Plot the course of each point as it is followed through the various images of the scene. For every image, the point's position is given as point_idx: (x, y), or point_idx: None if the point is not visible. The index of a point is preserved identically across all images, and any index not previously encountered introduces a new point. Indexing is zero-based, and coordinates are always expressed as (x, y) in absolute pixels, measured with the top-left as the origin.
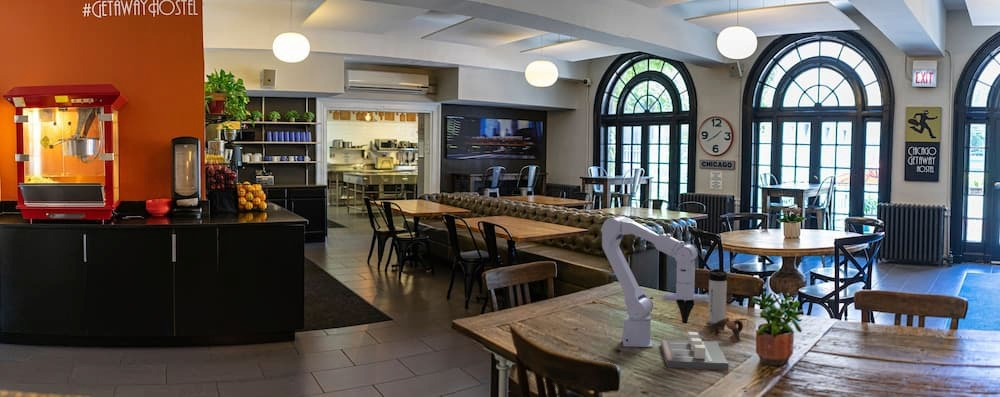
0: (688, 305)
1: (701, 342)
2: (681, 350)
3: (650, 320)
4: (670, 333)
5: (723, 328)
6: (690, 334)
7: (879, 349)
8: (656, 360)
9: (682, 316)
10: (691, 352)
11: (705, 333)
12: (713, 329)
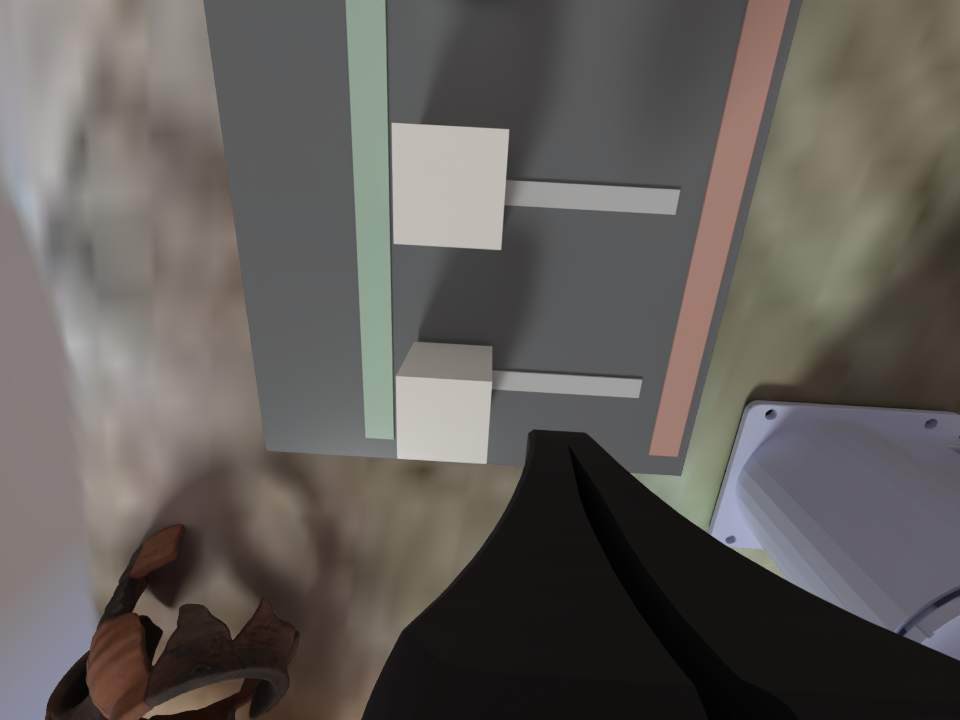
0: (604, 654)
1: (399, 125)
2: (594, 184)
3: (888, 615)
4: None
5: (180, 617)
6: (480, 381)
7: None
8: (832, 64)
9: (635, 481)
10: (510, 136)
11: (331, 663)
12: (263, 631)
